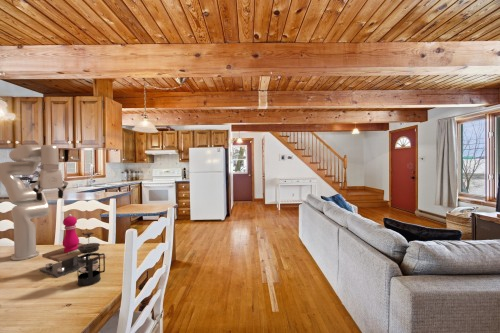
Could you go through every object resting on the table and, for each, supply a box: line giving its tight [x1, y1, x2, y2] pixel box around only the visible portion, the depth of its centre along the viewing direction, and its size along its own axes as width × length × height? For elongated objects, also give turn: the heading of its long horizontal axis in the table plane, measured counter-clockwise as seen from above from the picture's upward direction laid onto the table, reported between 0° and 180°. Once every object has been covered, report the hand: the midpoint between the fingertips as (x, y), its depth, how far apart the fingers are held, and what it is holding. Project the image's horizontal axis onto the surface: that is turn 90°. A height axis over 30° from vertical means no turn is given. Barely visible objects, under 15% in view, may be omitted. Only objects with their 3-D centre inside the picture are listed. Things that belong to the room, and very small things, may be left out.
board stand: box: [39, 255, 99, 279], centre depth 131 cm, size 16×20×6 cm
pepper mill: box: [62, 213, 80, 253], centre depth 130 cm, size 7×7×20 cm
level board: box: [41, 242, 85, 263], centre depth 131 cm, size 15×18×2 cm
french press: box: [76, 231, 106, 287], centre depth 115 cm, size 12×9×23 cm
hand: (50, 199), depth 133 cm, fingers open, 9 cm apart
